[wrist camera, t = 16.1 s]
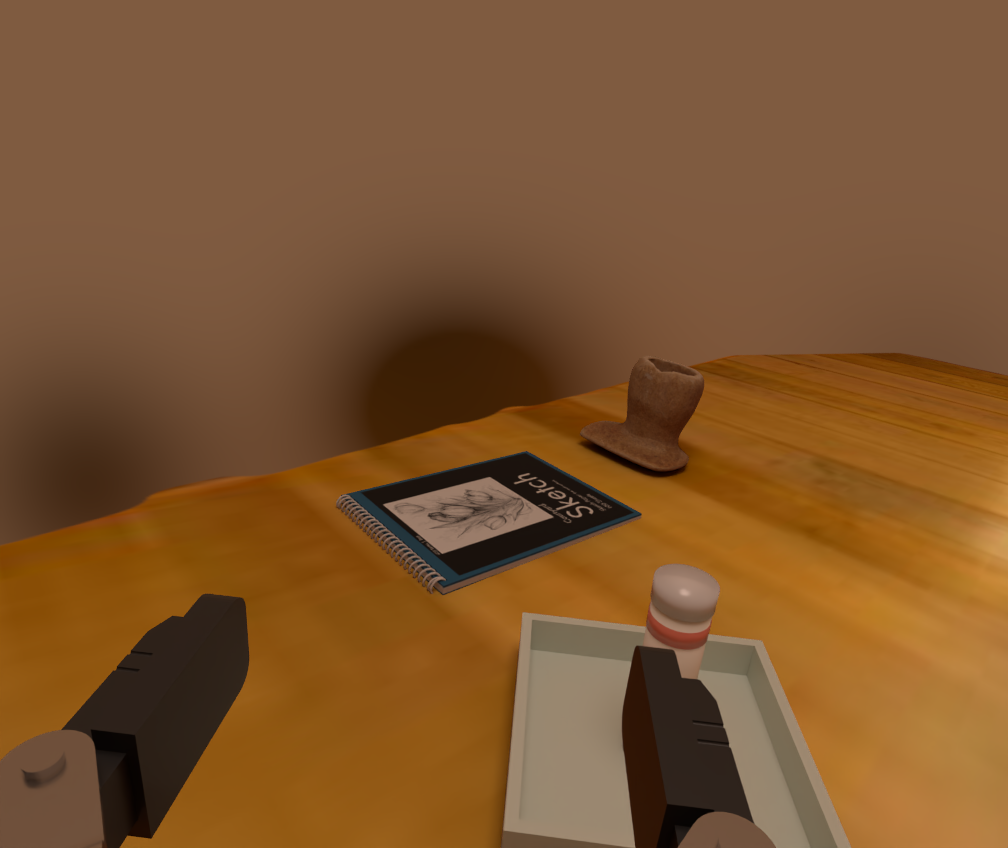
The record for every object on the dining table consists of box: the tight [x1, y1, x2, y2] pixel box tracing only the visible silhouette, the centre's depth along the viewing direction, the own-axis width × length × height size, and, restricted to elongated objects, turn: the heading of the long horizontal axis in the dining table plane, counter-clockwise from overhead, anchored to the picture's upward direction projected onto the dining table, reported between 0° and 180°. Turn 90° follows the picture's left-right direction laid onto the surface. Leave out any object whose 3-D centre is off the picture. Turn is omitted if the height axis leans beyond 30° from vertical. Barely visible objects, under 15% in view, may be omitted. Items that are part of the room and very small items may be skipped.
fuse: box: [622, 564, 720, 752], centre depth 44 cm, size 4×4×14 cm
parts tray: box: [501, 612, 851, 848], centre depth 46 cm, size 20×20×4 cm
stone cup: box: [580, 356, 704, 471], centre depth 97 cm, size 15×12×15 cm
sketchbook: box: [336, 451, 641, 595], centre depth 79 cm, size 22×30×2 cm
